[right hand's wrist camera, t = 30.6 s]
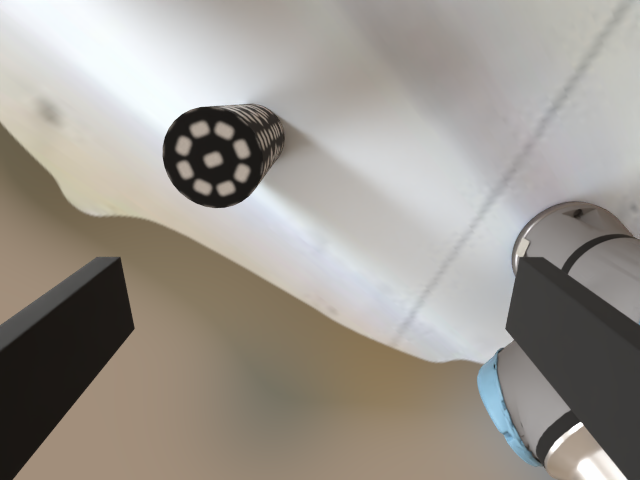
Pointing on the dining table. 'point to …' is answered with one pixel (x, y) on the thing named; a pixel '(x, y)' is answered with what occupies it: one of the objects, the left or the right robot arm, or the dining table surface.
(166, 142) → the black white spotted cylinder
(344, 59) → the dining table surface
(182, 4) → the dining table surface
